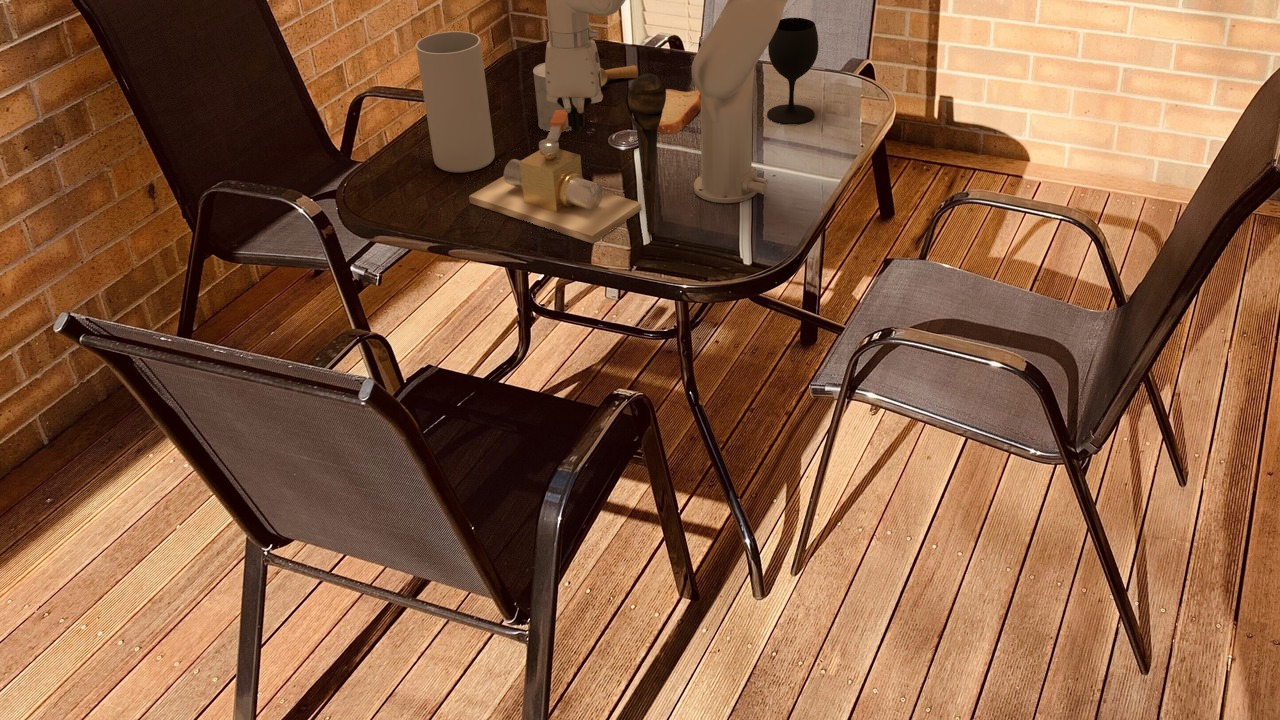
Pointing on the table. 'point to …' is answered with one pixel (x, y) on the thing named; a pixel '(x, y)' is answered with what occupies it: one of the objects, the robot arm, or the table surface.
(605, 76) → the kendama
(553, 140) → the valve lever
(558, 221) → the mounting board
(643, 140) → the decorative torch
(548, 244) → the table surface
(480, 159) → the cylinder vase
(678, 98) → the bread slice
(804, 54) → the wine glass
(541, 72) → the grey stone cylinder
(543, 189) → the valve body
